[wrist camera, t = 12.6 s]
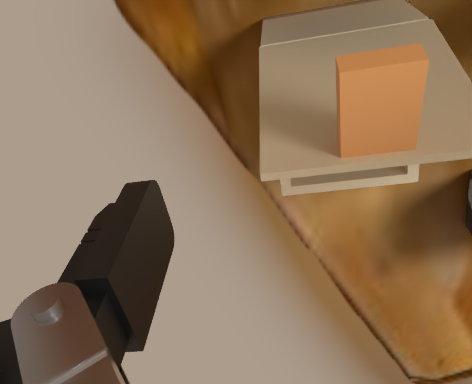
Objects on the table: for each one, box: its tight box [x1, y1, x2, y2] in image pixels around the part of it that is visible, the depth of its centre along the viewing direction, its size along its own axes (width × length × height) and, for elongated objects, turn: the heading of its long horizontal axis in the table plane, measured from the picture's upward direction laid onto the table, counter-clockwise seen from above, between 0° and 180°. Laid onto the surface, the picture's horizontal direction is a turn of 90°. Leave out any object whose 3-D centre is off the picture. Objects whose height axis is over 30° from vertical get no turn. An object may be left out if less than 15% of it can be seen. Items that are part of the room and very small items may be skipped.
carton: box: [260, 0, 429, 196], centre depth 41 cm, size 13×15×10 cm
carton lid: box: [259, 19, 472, 181], centre depth 26 cm, size 13×14×6 cm
